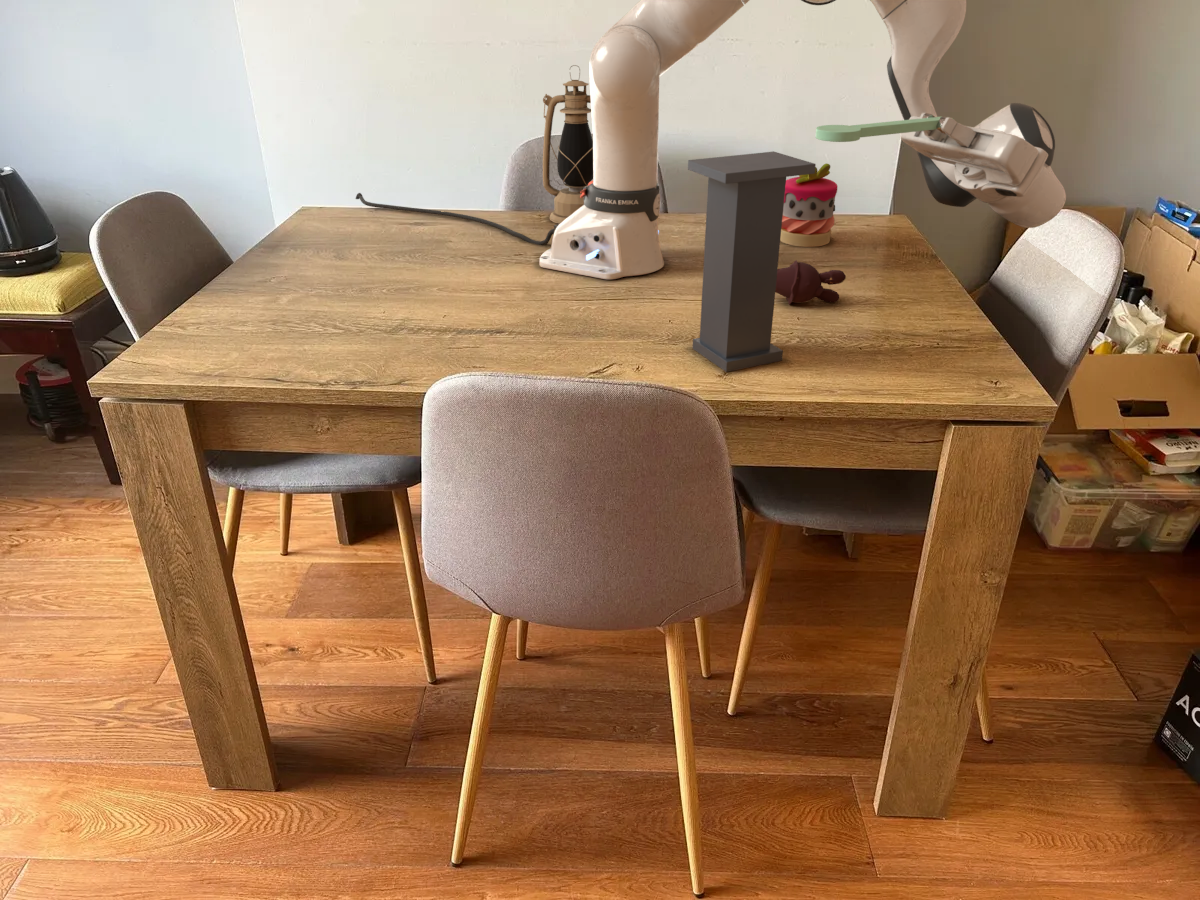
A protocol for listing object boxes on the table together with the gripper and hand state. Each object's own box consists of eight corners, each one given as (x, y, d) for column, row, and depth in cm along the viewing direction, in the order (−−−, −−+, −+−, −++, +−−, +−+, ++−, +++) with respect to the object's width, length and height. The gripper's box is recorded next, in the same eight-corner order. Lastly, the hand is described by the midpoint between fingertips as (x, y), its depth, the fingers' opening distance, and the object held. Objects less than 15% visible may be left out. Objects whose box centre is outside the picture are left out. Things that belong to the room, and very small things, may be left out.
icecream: (751, 270, 135) (850, 282, 134) (751, 245, 140) (846, 256, 139) (744, 308, 140) (839, 319, 139) (744, 282, 145) (835, 293, 144)
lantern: (614, 211, 192) (614, 62, 178) (609, 225, 182) (609, 68, 168) (548, 210, 194) (543, 61, 179) (539, 224, 183) (533, 68, 169)
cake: (765, 238, 174) (772, 159, 166) (802, 229, 179) (810, 152, 172) (805, 250, 166) (815, 168, 159) (842, 240, 172) (853, 161, 164)
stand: (757, 336, 129) (773, 151, 116) (794, 358, 121) (815, 163, 109) (679, 351, 124) (687, 160, 111) (713, 374, 117) (726, 173, 104)
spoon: (931, 123, 123) (933, 114, 122) (962, 129, 118) (963, 120, 118) (806, 136, 115) (807, 126, 114) (833, 143, 111) (834, 133, 110)
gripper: (947, 132, 134) (892, 89, 127) (1059, 155, 118) (1004, 107, 110) (925, 171, 136) (869, 130, 128) (1032, 199, 120) (976, 154, 112)
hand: (932, 120), depth 119 cm, fingers closed on spoon, 2 cm apart
